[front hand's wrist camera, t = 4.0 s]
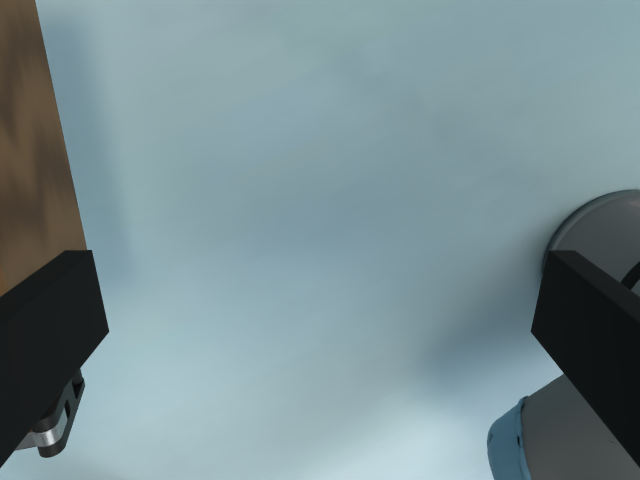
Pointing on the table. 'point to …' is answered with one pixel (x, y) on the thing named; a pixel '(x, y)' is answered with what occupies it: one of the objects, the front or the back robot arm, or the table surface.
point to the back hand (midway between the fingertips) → (40, 327)
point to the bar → (31, 154)
